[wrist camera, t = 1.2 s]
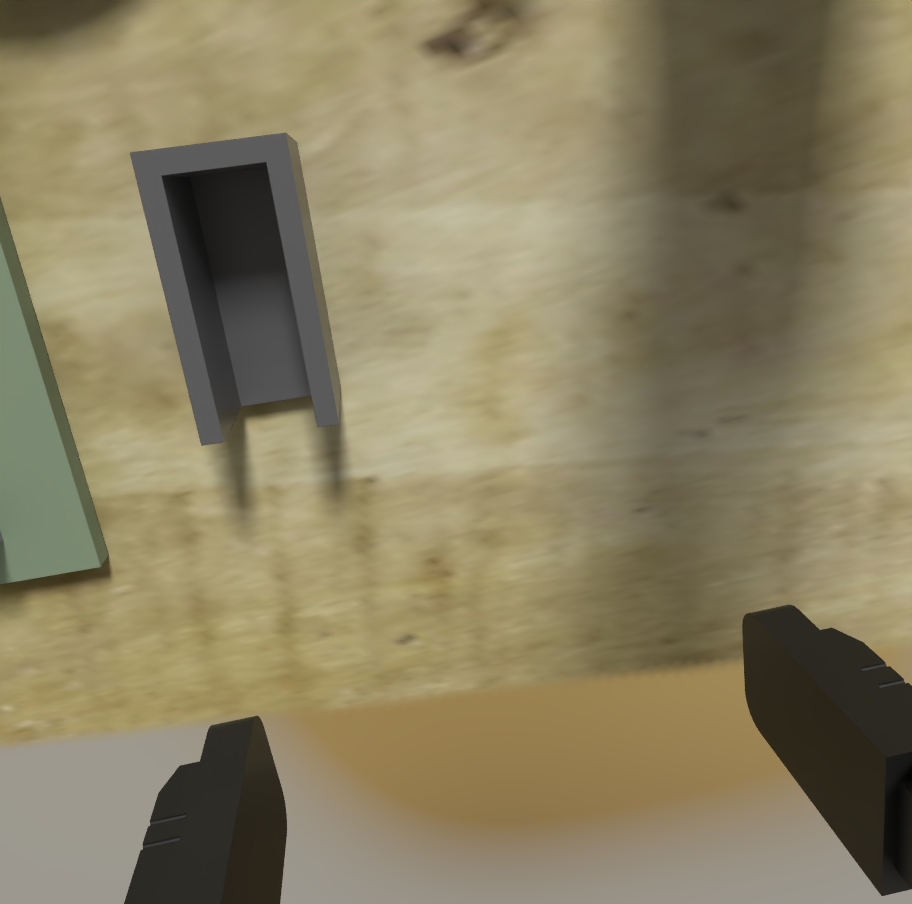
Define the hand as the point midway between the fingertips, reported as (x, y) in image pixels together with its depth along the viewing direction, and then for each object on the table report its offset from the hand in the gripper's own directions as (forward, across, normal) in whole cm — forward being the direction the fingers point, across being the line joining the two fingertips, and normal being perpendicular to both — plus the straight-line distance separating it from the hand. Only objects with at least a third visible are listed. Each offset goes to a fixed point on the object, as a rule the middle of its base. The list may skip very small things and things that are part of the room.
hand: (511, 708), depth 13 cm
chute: (+24, +5, -5) cm, 25 cm away
